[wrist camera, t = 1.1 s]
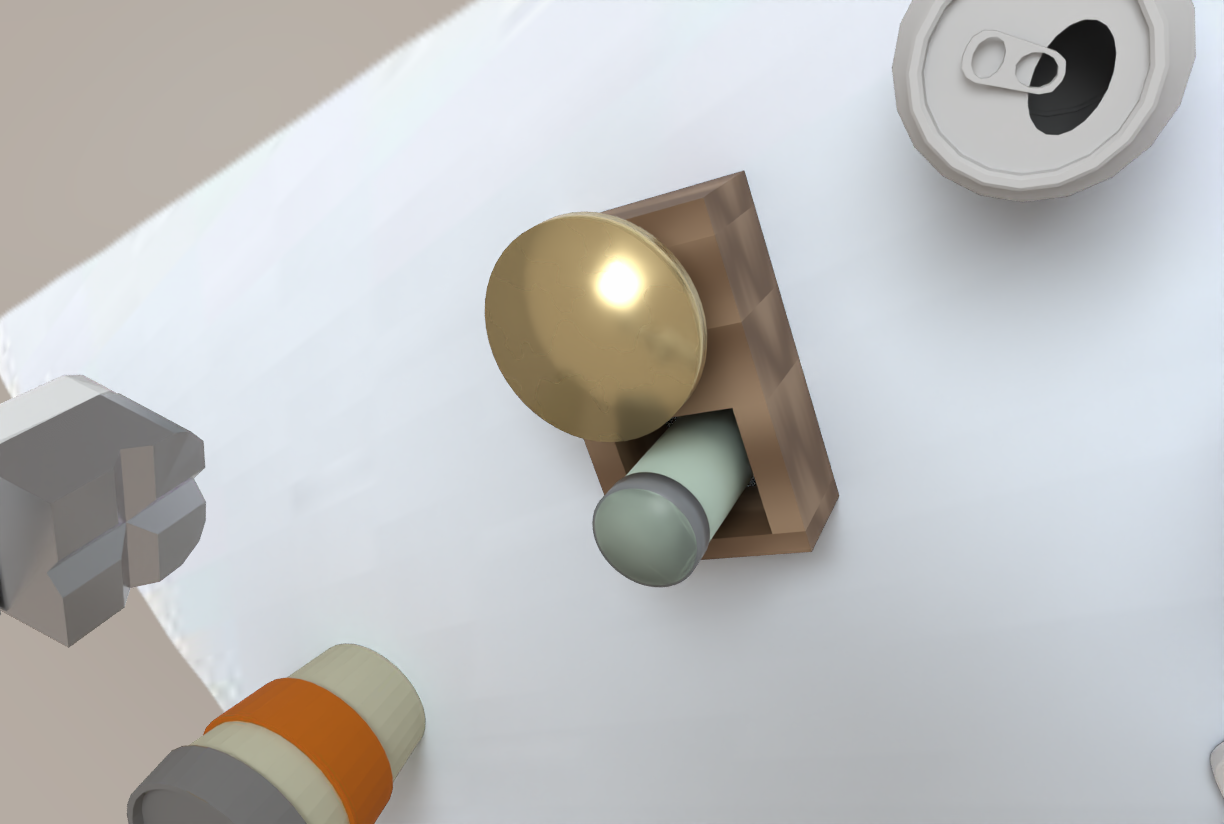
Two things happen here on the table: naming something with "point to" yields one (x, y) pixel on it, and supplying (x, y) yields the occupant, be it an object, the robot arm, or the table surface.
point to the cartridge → (673, 499)
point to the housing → (739, 371)
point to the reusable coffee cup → (294, 750)
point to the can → (1039, 88)
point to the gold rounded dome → (596, 326)
